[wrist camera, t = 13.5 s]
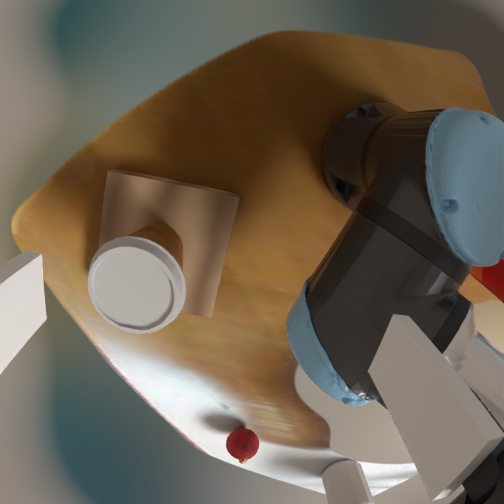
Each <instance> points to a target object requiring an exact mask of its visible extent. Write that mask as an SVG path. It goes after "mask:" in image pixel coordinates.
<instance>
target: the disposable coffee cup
mask: <svg viewBox="0 0 504 504" xmlns="http://www.w3.org/2000/svg"><path fill="white" fill-rule="evenodd" d="M88 291H89V296H90V299H91V301H92V303H93V305H94V307H95V309H96V311H97V312H98V313H99V314H100V315H101V317H102V318H103V319H104V320H106V321H107V322H108V323H109V324H111V325H113V326H114V327H116V328H118V329H120V330H122V331H125V332H129V333H135V334H147V333H151V332H154V331H157V330H159V329H161V328H163V327H164V326H166V325H167V324H169V323H171V322H172V321H173V320H174V319H175V318H176V317H177V316H178V314H179V313H180V311H181V309H182V307H183V304H184V302H185V297H186V283H185V279H184V275H183V244H182V241H181V238H180V236H179V235H178V234H177V232H175V231H174V230H173V229H172V228H171V227H169V226H167V225H164V224H159V223H154V224H149V225H147V226H144V227H143V228H141V229H139V230H137V231H135V232H133V233H131V234H130V235H128V236H126V237H120V238H115V239H113V240H111V241H109V242H107V243H106V244H104V245H103V246H102V247H101V248H100V249H99V250H98V251H97V252H96V253H95V255H94V256H93V258H92V260H91V263H90V266H89V270H88Z"/></svg>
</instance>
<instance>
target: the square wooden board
mask: <svg viewBox="0 0 504 504" xmlns="http://www.w3.org/2000/svg"><path fill="white" fill-rule="evenodd" d="M239 200H240V196H239V194H237V193H233V192H229V191H224V190H220V189H215V188H211V187H206V186H201V185H197V184H192V183H187V182H182V181H178V180H173V179H168V178H163V177H158V176H153V175H147V174H142V173H137V172H132V171H126V170H121V169H113V170H110V171H108V172H107V178H106V185H105V192H104V199H103V207H102V215H101V224H100V234H99V245H98V250H99V249H100V248H101V247H102V246H103V245H104V244H106V243H107V242H109V241H111V240H113V239H115V238H120V237H126V236H128V235H130V234H131V233H133V232H135V231H137V230H139V229H141V228H143V227H144V226H147V225H149V224H154V223H159V224H164V225H167V226H169V227H171V228H172V229H173V230H174V231H175V232H177V234H178V235H179V236H180V238H181V241H182V244H183V275H184V279H185V283H186V297H185V302H184V304H183V307H182V309H181V311H180V312H184V313H189V314H193V315H198V316H203V317H208V318H212V314H213V309H214V305H215V300H216V296H217V292H218V287H219V283H220V279H221V274H222V270H223V266H224V262H225V258H226V253H227V249H228V245H229V241H230V237H231V232H232V228H233V224H234V220H235V216H236V212H237V208H238V204H239Z"/></svg>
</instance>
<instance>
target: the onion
mask: <svg viewBox="0 0 504 504" xmlns="http://www.w3.org/2000/svg"><path fill="white" fill-rule="evenodd" d="M226 448H227V450H228V452H229V453H230V454H231V455H232V456H233V457H234V458H236V459H239V462H240V463H242V464H243V463H245V462H246V461H247V459H250V458H252V457H253V456H254V455H255V454H256V453H257V451H258V448H259V440H258V437H257V435H256V434H255V433H254V432H253V431H251V430H249V429H246V428H240V429H237V430H235V431H233V432H232V433H231V434H230V435H229V436H228V438H227V441H226Z"/></svg>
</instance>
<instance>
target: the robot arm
mask: <svg viewBox="0 0 504 504" xmlns="http://www.w3.org/2000/svg"><path fill="white" fill-rule="evenodd" d="M322 169H323V173H324V177H325V180H326V182H327V185H328V187H329V189H330V190H331V192H332V193H333V195H334V196H335V197H336V198H337V200H338V201H339V202H340V203H342V204H343V205H344V206H345V207H347V208H348V209H350V210H352V211H353V213H352V214H351V216H350V217H349V219H348V221H347V222H346V224H345V225H344V227H343V229H342V230H341V232H340V233H339V235H338V237H337V238H336V240H335V241H334V243H333V244H332V246H331V248H330V249H329V251H328V252H327V254H326V255H325V257H324V258H323V260H322V261H321V263H320V264H319V266H318V267H317V269H316V270H315V271H314V273H313V274H312V276H311V277H309V278H308V279H307V280H306V282H305V283H304V285H303V288H302V292H301V293H300V295H299V297H298V298H297V300H296V302H295V303H294V305H293V306H292V308H291V310H290V312H289V314H288V317H287V321H286V329H287V334H288V342H289V345H290V347H291V350H292V352H293V354H294V356H295V358H296V360H297V361H298V363H299V364H300V366H301V367H302V369H303V370H304V371H305V373H306V374H307V375H308V376H309V377H310V379H311V380H312V381H313V382H314V383H315V384H316V385H317V386H318V387H319V388H320V389H321V390H323V391H324V392H325V393H327V394H328V395H329V396H331V397H332V398H334V399H336V400H340V399H341V400H342V401H343V402H344V404H346V405H350V406H362V405H365V404H367V403H370V402H372V401H373V400H374V399H375V400H377V401H378V402H379V403H380V404H381V405H382V406H384V407H385V408H386V409H387V410H388V411H389V413H390V415H391V417H392V419H393V421H394V423H395V425H396V427H397V429H398V431H399V433H400V435H401V437H402V439H403V441H404V443H405V445H406V447H407V449H408V451H409V453H410V455H411V457H412V459H413V462H414V464H415V466H416V468H417V470H418V472H419V474H420V476H421V478H422V481H423V483H424V485H425V487H426V489H427V491H428V494H429V496H430V498H431V500H432V501H434V500H437V499H440V498H443V497H446V496H449V495H451V494H452V493H453V492H454V491H455V490H456V489H457V488H458V487H459V486H460V485H461V484H462V485H463V486H464V488H465V490H464V491H463V492H462V493H461V494H460V495H459V496H458V497H457V498H456V499H454V500H453V501H452V502H451V503H450V504H504V354H503V353H502V352H501V351H500V350H499V349H498V348H497V347H495V346H494V345H493V344H492V343H491V342H490V341H489V340H487V339H486V338H485V337H484V336H483V335H481V334H480V333H479V332H478V331H477V329H476V326H475V316H474V307H473V304H472V303H471V302H470V301H468V300H467V299H466V298H465V297H463V296H462V295H461V294H460V293H459V292H458V290H459V288H460V285H462V283H463V282H464V280H465V279H466V277H467V276H468V274H469V272H470V271H471V269H472V268H473V266H475V267H479V266H480V267H488V266H493V265H495V264H497V263H498V262H499V259H500V258H501V259H504V123H503V122H502V121H500V120H499V119H498V118H496V117H495V116H493V115H491V114H489V113H486V112H482V111H474V110H466V109H463V108H459V107H456V108H448V109H436V110H426V111H416V112H407V111H405V110H403V109H401V108H399V107H397V106H395V105H392V104H389V103H383V102H369V103H364V104H359V105H356V106H353V107H351V108H349V109H347V110H346V111H344V112H343V113H342V114H340V115H339V116H338V117H337V118H336V119H335V121H334V122H333V123H332V125H331V126H330V128H329V130H328V132H327V134H326V136H325V139H324V143H323V147H322ZM459 284H460V285H459ZM46 319H47V317H46V309H45V298H44V285H43V269H42V254H40V253H36V252H32V251H27V250H26V251H24V252H23V253H21V254H20V255H18V256H17V257H15V258H14V259H12V260H10V261H9V262H7V263H6V264H5V265H3V266H1V267H0V374H1V373H2V372H3V370H4V369H5V368H6V366H7V365H8V364H9V362H10V361H11V360H12V359H13V358H14V357H15V355H16V354H17V353H18V352H19V351H20V349H21V348H22V347H23V346H24V345H25V343H26V342H27V341H28V340H29V339H30V337H31V336H32V335H33V334H34V333H35V332H36V330H37V329H38V328H39V327H40V326H41V325H42V324H43V323H44V321H45V320H46Z"/></svg>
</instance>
